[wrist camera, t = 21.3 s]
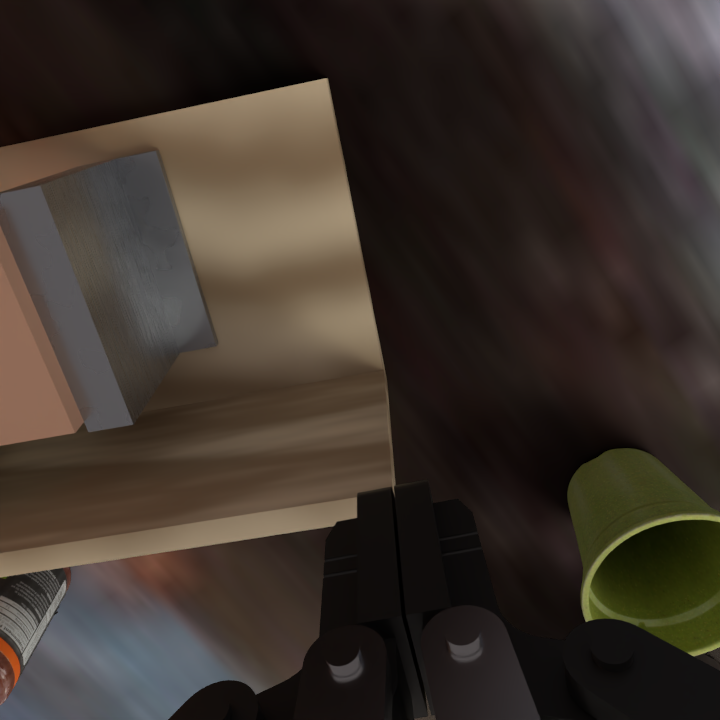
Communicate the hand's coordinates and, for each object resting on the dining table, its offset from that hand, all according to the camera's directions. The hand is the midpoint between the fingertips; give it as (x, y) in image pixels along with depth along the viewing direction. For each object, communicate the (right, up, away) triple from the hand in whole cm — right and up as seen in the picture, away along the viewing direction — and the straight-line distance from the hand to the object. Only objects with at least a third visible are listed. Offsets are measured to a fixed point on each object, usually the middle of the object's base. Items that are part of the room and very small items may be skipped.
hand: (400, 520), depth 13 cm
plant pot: (+15, -4, +26) cm, 30 cm away
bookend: (-12, +8, +19) cm, 24 cm away
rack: (-13, +7, +21) cm, 26 cm away
